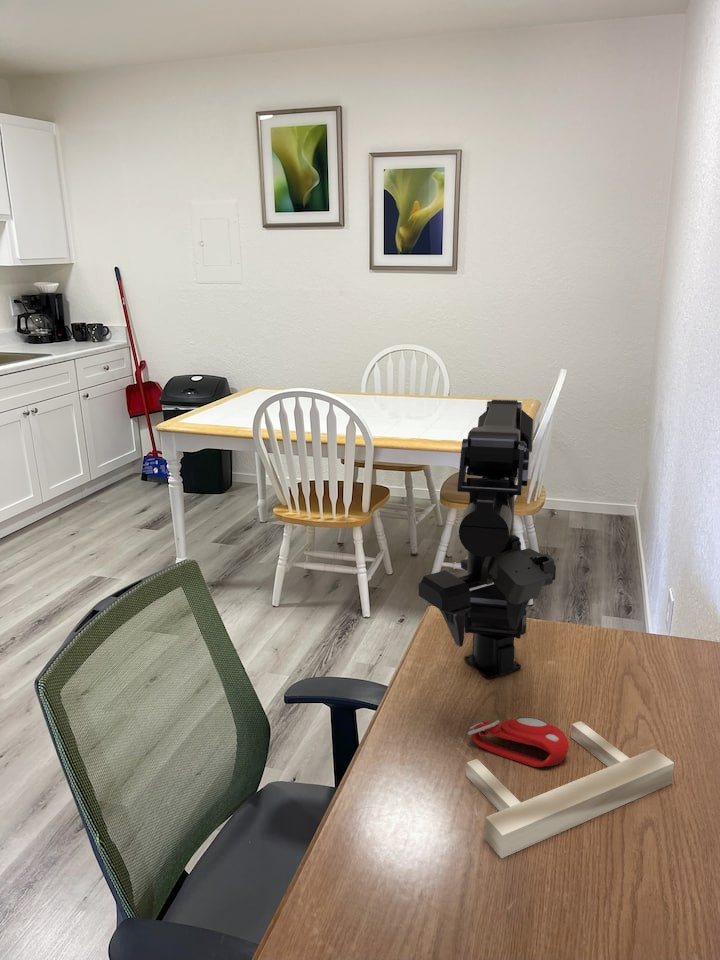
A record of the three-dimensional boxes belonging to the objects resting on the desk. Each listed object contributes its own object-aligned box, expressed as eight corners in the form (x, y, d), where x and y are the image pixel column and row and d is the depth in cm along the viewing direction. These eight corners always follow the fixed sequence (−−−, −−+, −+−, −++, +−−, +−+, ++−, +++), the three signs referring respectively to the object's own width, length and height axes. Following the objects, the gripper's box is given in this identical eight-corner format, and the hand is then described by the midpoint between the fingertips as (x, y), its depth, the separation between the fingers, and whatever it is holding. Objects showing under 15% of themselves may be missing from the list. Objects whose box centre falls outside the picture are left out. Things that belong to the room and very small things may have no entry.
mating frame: (438, 786, 89) (438, 765, 88) (596, 727, 99) (598, 708, 98) (501, 858, 78) (502, 835, 77) (671, 783, 88) (674, 762, 88)
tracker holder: (534, 708, 102) (586, 731, 93) (532, 740, 102) (584, 766, 93) (462, 713, 97) (510, 738, 88) (459, 747, 97) (507, 776, 88)
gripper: (471, 563, 83) (468, 685, 88) (590, 532, 92) (582, 643, 96) (416, 533, 92) (415, 645, 97) (529, 507, 101) (524, 610, 106)
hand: (486, 636), depth 99 cm, fingers open, 9 cm apart
